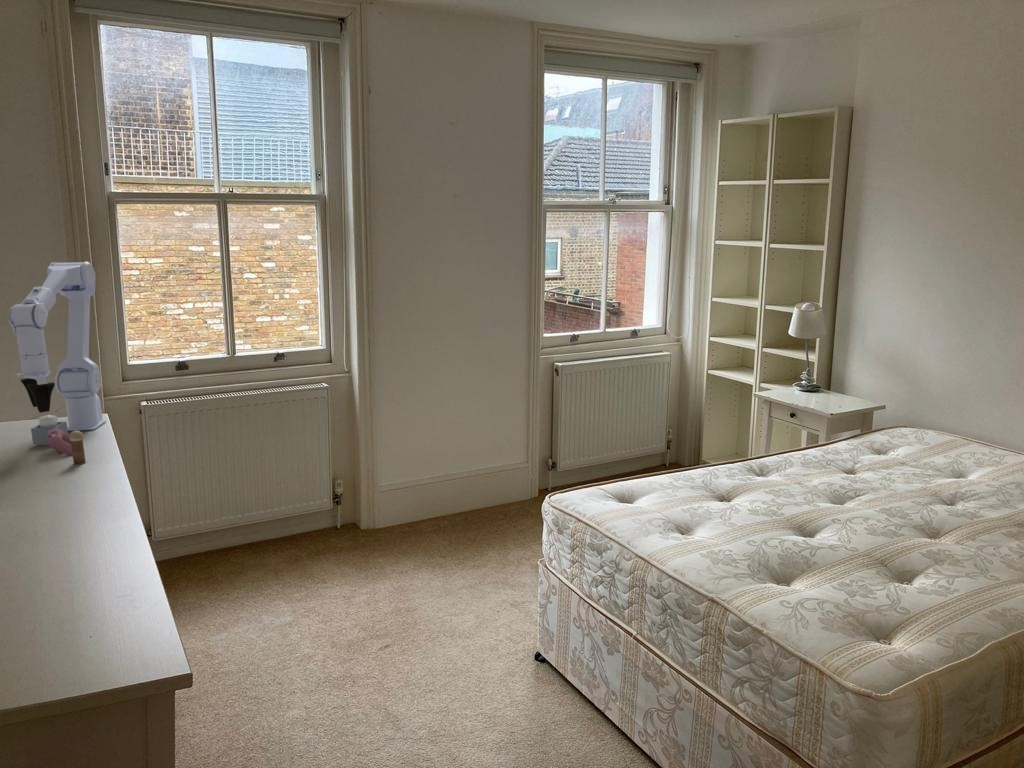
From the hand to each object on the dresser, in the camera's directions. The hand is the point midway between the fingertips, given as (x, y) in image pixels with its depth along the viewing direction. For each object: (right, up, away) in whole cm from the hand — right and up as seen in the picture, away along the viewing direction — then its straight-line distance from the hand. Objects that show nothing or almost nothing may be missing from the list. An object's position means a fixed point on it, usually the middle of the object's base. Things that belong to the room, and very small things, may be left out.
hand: (41, 409), depth 200 cm
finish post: (+15, -12, -11) cm, 23 cm away
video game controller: (+6, -11, -1) cm, 12 cm away
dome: (-1, -6, +6) cm, 9 cm away
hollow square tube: (-1, -9, +7) cm, 11 cm away
